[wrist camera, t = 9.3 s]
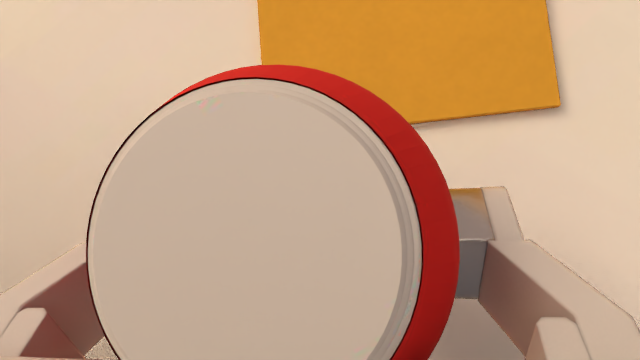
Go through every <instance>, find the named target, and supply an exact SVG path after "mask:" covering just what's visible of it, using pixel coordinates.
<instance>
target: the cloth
mask: <svg viewBox="0 0 640 360" xmlns="http://www.w3.org/2000/svg"><path fill="white" fill-rule="evenodd" d="M257 2H258V16H259V31H260V45H261V60H262V65H279V64H280V65H293V66H302V67H307V68H313V69H318V70H321V71H324V72H328V73H331V74H335V75H337V76H340V77H342V78H345V79H347V80H349V81H352V82H354V83H356V84H358V85H360V86H361V87H363V88H365V89H367V90H369V91H370V92H372V93H373V94H375V95H376V96H378V97H379V98H381V99H382V100H384V101H385V102H386V103H388V104H389V105H390V106H391V107H392V108H393V109H395V110H396V111H397V112H398V113H399V114H400V115H402V117H403V118H404V119H405V120H406V121H407V122H408V123H409V124H415V123H423V122H432V121H441V120H450V119H459V118H467V117H476V116H485V115H494V114H502V113H511V112H520V111H529V110H537V109H546V108H555V107H559V106H560V105H561V103H560V97H559V90H558V83H557V76H556V69H555V62H554V55H553V48H552V41H551V34H550V27H549V21H548V14H547V7H546V0H257Z"/></svg>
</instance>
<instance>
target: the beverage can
mask: <svg viewBox="0 0 640 360" xmlns="http://www.w3.org/2000/svg"><path fill="white" fill-rule="evenodd" d="M459 262H460V248H459V233H458V225H457V218H456V214H455V209H454V205H453V201H452V197H451V195H450V192H449V189H448V186H447V183H446V180H445V178H444V176H443V174H442V172H441V170H440V168H439V166H438V163H437V161H436V160H435V158H434V156H433V155H432V153H431V152H430V150H429V148H428V147H427V145H426V144H425V142H424V141H423V140H422V138H421V137H420V136H419V134H418V133H417V132H416V131H415V129H414V128H413V127H412V126H411V125H410V124H409V123H408V122H407V121H406V120H405V119H404V118H403V117H402V115H400V114H399V113H398V112H397V111H396V110H395V109H393V108H392V107H391V106H390V105H389V104H388V103H386V102H385V101H384V100H382V99H381V98H379V97H378V96H376V95H375V94H373V93H372V92H370V91H369V90H367V89H365V88H363V87H361V86H360V85H358V84H356V83H354V82H352V81H349V80H347V79H345V78H342V77H340V76H337V75H335V74H331V73H328V72H324V71H321V70H318V69H313V68H307V67H302V66H293V65H280V64H279V65H257V66H250V67H243V68H238V69H234V70H230V71H226V72H223V73H220V74H217V75H214V76H212V77H209V78H206V79H204V80H202V81H200V82H198V83H196V84H194V85H192V86H190V87H188V88H186V89H185V90H183V91H182V92H180V93H178V94H177V95H175V96H174V97H172V98H171V99H170V100H168V101H167V102H166V103H164V104H163V105H162V106H160V107H159V108H158V109H157V110H155V111H154V112H153V113H152V114H150V115H149V116H148V117H147V118H146V119H145V120H144V121H143V122H142V123H140V124H139V125H138V126H137V127H136V128H135V129H134V131H133V132H132V133H131V134H130V135H129V136H128V137H127V139H126V140H125V141H124V142H123V144H122V145H121V147H120V148H119V149H118V151H117V152H116V153H115V155H114V157H113V159H112V160H111V162H110V164H109V165H108V167H107V169H106V171H105V173H104V175H103V177H102V180H101V182H100V184H99V187H98V190H97V192H96V195H95V198H94V201H93V205H92V209H91V213H90V217H89V223H88V230H87V240H86V270H87V278H88V286H89V290H90V295H91V299H92V304H93V307H94V310H95V313H96V316H97V319H98V322H99V324H100V326H101V329H102V331H103V333H104V335H105V338H106V339H107V341H108V343H109V345H110V346H111V348H112V350H113V352H114V353H115V355H116V356H117V358H118V359H119V360H428V358H429V357H430V355H431V353H432V352H433V350H434V348H435V346H436V345H437V343H438V341H439V339H440V337H441V335H442V333H443V330H444V328H445V326H446V323H447V321H448V318H449V315H450V312H451V309H452V305H453V302H454V298H455V293H456V288H457V283H458V274H459Z"/></svg>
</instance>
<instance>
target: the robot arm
mask: <svg viewBox="0 0 640 360" xmlns="http://www.w3.org/2000/svg"><path fill="white" fill-rule="evenodd" d="M449 192H450V195H451V197H452V201H453V205H454V209H455V214H456V218H457V225H458V233H459V248H460V262H459V274H458V283H457V288H456V293H455V298H462V299H478V301H479V303H480V304H481V305H482V306H483V307H484V309H485V310H486V311H487V312H488V313H489V314H490V316H491V317H492V318H493V319H494V320H495V322H496V323H497V324H498V325H499V326H500V328H501V329H502V330H503V331H504V332H505V333H506V335H507V336H508V337H509V338H510V339H511V341H512V342H513V343H514V344H515V345H516V346H517V348H518V349H519V350H520V351H521V352H522V354H523V355H524V356H525V357H526V358H525V360H640V331H639V329H638V327H637V325H636V323H635V321H634V319H633V317H632V316H630V315H629V314H628V313H626V312H625V311H624V310H623V309H621V308H620V307H619V306H617V305H616V304H615V303H613V302H612V301H611V300H609V299H608V298H607V297H605V296H604V295H603V294H601V293H600V292H599V291H598V290H596V289H595V288H594V287H592V286H591V285H590V284H588V283H587V282H586V281H584V280H583V279H582V278H580V277H579V276H578V275H577V274H575V273H574V272H573V271H571V270H570V269H569V268H567V267H566V266H565V265H563V264H562V263H561V262H559V261H558V260H557V259H555V258H554V257H553V256H552V255H550V254H549V253H548V252H546V251H545V250H544V249H542V248H541V247H540V246H538V245H537V244H536V243H534V242H533V241H531V240H524V238H523V235H522V232H521V229H520V226H519V223H518V220H517V217H516V214H515V212H514V209H513V206H512V203H511V200H510V197H509V194H508V191H507V189H506V188H505V187H480V188H461V189H449ZM104 336H105V335H104V333H103V331H102V329H101V326H100V324H99V322H98V319H97V316H96V313H95V310H94V307H93V304H92V299H91V295H90V290H89V286H88V278H87V270H86V243H81V244H79V245H77V246H76V247H74V248H73V249H71V250H70V251H68V252H66V253H65V254H63V255H62V256H60V257H59V258H57V259H55V260H54V261H52V262H51V263H49V264H48V265H46V266H44V267H43V268H41V269H40V270H38V271H37V272H35V273H34V274H32V275H30V276H29V277H27V278H26V279H24V280H23V281H21V282H19V283H18V284H16V285H15V286H13V287H12V288H10V289H8V290H7V291H5V292H4V293H2V294H1V295H0V360H99V359H86V358H85V357H84V355H85V354H86V353H87V352H88V351H89V350H90V349H91V348H92V347H93V346H94V345H95V344H96V343H97V342H98V341H100V340H101V339H102V338H103V337H104Z"/></svg>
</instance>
